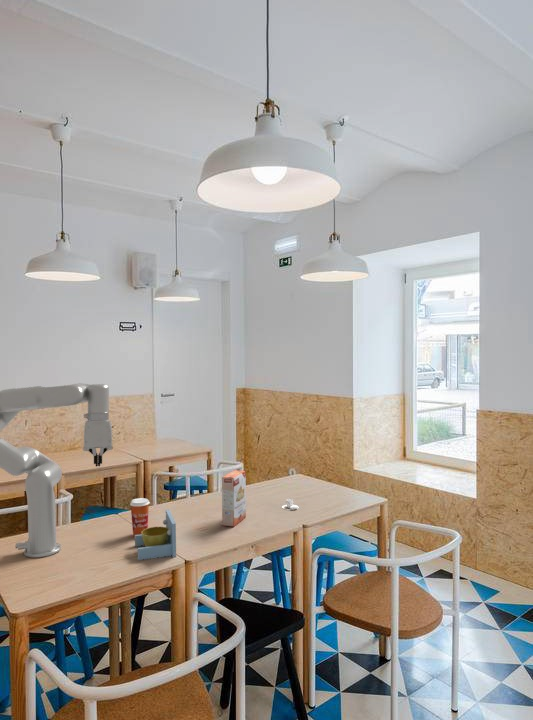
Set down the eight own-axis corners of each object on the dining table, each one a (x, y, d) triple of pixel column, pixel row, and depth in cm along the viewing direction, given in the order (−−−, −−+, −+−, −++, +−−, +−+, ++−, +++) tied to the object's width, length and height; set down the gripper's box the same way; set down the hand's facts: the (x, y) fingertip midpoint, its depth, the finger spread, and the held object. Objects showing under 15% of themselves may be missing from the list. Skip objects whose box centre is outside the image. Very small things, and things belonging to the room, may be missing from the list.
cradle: (138, 561, 180) (137, 527, 180) (134, 544, 197) (134, 513, 197) (176, 556, 184) (175, 523, 184) (169, 539, 201) (168, 509, 201)
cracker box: (235, 527, 214) (234, 477, 214) (221, 526, 216) (220, 476, 216) (247, 517, 228) (246, 470, 227) (234, 516, 229) (233, 469, 229)
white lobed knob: (299, 511, 236) (298, 502, 236) (281, 511, 237) (281, 502, 237) (298, 505, 245) (298, 497, 245) (281, 505, 245) (281, 497, 245)
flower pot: (149, 557, 183) (148, 537, 183) (137, 549, 191) (136, 530, 191) (174, 550, 190) (173, 531, 190) (162, 543, 198) (161, 524, 198)
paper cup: (130, 539, 203) (129, 503, 202) (130, 532, 210) (129, 498, 210) (150, 536, 205) (150, 502, 204) (149, 530, 212) (149, 497, 212)
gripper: (76, 418, 187) (76, 468, 187) (119, 417, 191) (118, 466, 191) (77, 416, 194) (77, 464, 194) (118, 415, 198) (118, 462, 198)
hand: (97, 465), depth 193 cm, fingers closed
